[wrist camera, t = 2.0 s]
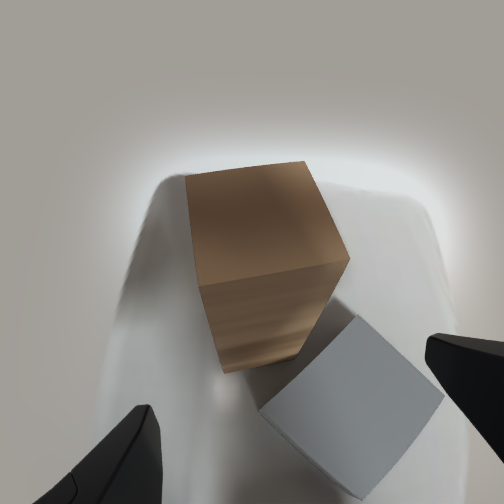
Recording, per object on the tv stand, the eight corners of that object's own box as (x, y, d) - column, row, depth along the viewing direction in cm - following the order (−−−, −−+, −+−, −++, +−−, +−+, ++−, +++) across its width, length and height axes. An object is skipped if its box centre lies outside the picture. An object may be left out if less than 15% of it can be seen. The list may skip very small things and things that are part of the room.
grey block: (349, 494, 15) (362, 500, 13) (258, 411, 19) (260, 408, 17) (427, 401, 19) (445, 395, 17) (347, 327, 22) (357, 314, 20)
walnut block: (294, 358, 21) (350, 258, 10) (223, 373, 20) (198, 286, 9) (277, 296, 24) (304, 161, 13) (211, 308, 23) (185, 176, 12)
